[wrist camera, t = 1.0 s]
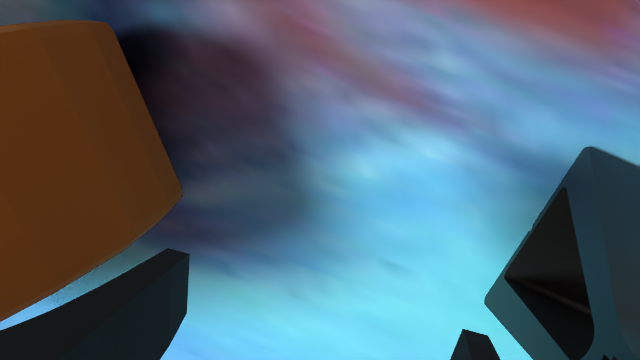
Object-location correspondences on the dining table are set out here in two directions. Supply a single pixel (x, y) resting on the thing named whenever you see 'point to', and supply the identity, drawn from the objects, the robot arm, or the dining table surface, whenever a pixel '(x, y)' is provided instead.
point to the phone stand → (578, 268)
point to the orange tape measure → (72, 158)
